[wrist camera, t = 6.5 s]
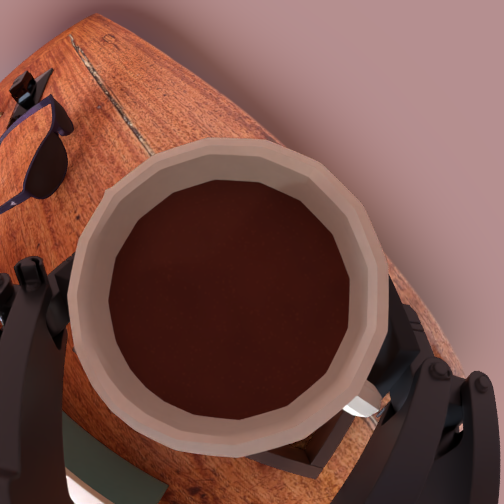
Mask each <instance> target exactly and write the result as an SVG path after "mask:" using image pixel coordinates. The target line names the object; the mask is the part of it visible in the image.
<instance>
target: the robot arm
mask: <svg viewBox="0 0 504 504" xmlns="http://www.w3.org/2000/svg"><path fill="white" fill-rule="evenodd" d="M75 253H76V252H74V253H73V254H72V256H70V257H68V258H67V259H66V261H64V262H62V263H61V264H60V265H59V266H58V267H57V268H55V269H54V270H53V271H52V272H51V273H50V274H49V275H47V274H46V270H45V267H44V263H43V260H42V259H41V258H40V257H38V256H30V257H26V258H24V259H22V260H20V261H19V262H18V263H17V264H16V265H15V266H14V270H15V273H16V276H17V279H18V281H19V284H20V285H15V284H13V283H12V281H11V278H10V276H9V274H7V273H0V321H1V322H2V324H3V327H2V328H1V329H0V504H75V503H74V502H73V500H72V499H71V497H70V495H69V491H68V485H67V478H66V470H65V461H64V450H63V433H62V393H63V375H64V363H65V353H66V344H67V337H68V333H67V329H66V325H67V324H68V323H69V322H70V316H69V307H68V298H67V294H68V288H69V282H70V277H71V271H72V266H73V262H74V257H75ZM388 275H389V274H388ZM420 323H421V322H420V320H419V318H418V315H417V313H416V312H415V311H414V310H413V309H412V308H411V307H410V305H406V304H402V302H401V300H400V298H399V295H398V293H397V291H396V289H395V286H394V284H393V282H392V280H391V278H390V276H389V309H388V332H387V334H386V337H385V339H384V342H383V344H382V346H381V349H380V351H379V353H378V356H377V358H376V360H375V362H374V364H373V366H372V369H371V371H370V373H369V375H368V377H367V379H366V380H368V381H369V382H370V383H372V384H373V385H374V386H375V387H376V389H377V390H378V392H379V393H380V395H381V396H382V399H383V398H384V397H385V395H386V394H387V393H388V392H390V398H391V400H390V402H389V403H388V404H387V405H386V406H385V407H384V408H383V409H382V410H381V411H380V412H379V413H378V414H377V416H376V417H379V416H380V415H381V414H382V416H381V418H380V420H379V422H378V424H377V426H376V428H375V430H374V432H373V434H372V436H371V438H370V440H369V442H368V444H367V446H366V447H365V449H364V451H363V453H362V455H361V456H360V458H359V460H358V462H357V463H356V465H355V467H354V468H353V470H352V471H351V473H350V475H349V476H348V478H347V479H346V481H345V483H344V484H343V486H342V487H341V489H340V490H339V491H338V493H337V494H336V496H335V497H334V499H333V500H332V501H331V503H330V504H498V498H499V486H500V440H499V439H500V438H499V426H498V417H497V409H496V402H495V395H494V390H493V386H492V383H491V381H490V379H489V377H488V376H487V375H486V374H484V373H482V372H480V371H474V372H472V373H471V374H470V375H469V376H468V377H467V378H466V379H463V378H460V377H457V376H454V375H453V374H452V371H451V369H450V367H449V366H448V364H447V363H446V362H445V361H443V360H442V359H440V358H437V357H434V354H433V351H432V349H431V346H430V344H429V341H428V339H427V336H426V334H425V332H424V329H423V327H422V325H421V324H420ZM462 423H463V430H462V431H461V432H459V426H460V425H461V424H462Z"/></svg>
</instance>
